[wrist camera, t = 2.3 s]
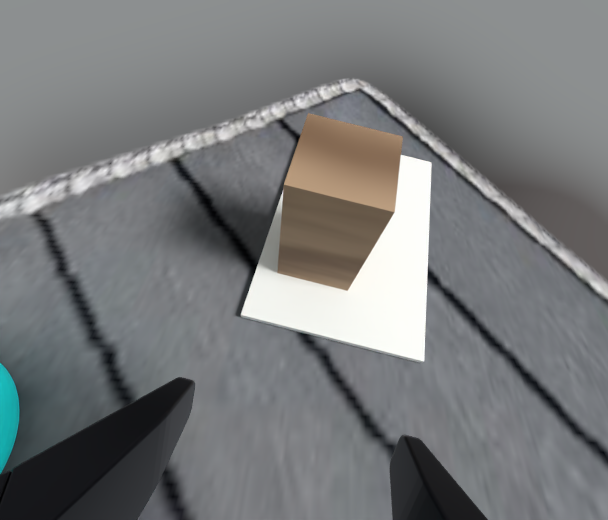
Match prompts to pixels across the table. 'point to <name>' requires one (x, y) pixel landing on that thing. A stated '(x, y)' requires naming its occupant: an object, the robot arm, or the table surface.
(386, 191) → the walnut block
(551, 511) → the table surface
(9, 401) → the donuts
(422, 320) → the white mat
